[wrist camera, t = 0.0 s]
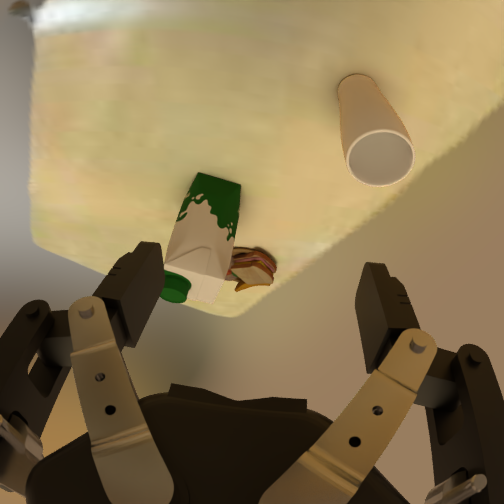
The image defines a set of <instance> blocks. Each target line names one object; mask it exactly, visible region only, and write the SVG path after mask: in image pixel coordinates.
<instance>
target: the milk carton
mask: <svg viewBox="0 0 504 504" xmlns="http://www.w3.org/2000/svg"><path fill="white" fill-rule="evenodd" d="M240 189H241V185H239V184H236V183H233V182H230V181H226V180H223V179H219V178H216V177H213V176H209V175H206V174H202V173H199V172H198V174H197V176H196V178H195V180H194V181H193V183H192V185H191V187H190V189H189V191H188V193H187V195H186V197H185V199H184V201H183V204H182V206H181V209H180V212H179V215H178V218H177V220H176V223H175V226H174V229H173V232H172V235H171V238H170V241H169V245H168V248H167V253H166V258H165V262H164V272H165V284H164V288H163V290H162V292H161V294H160V297H161V298H162V299H164V300H166V301H169V302H172V303H183V302H185V301H186V299H187V298H188V299H190V300H193V301H196V300H198V301H202V302H206V303H209V304H213V303H214V301H215V299H216V297H217V295H218V293H219V291H220V289H221V287H222V285H223V283H224V281H225V278H226V274H227V271H228V268H229V265H230V261H231V256H232V250H233V245H234V239H235V234H236V229H237V223H238V218H239V206H240Z"/></svg>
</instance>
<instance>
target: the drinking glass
mask: <svg viewBox="0 0 504 504" xmlns="http://www.w3.org/2000/svg"><path fill="white" fill-rule="evenodd" d="M337 94H338V100H339V109H340V131H341V142H342V149H343V153H344V158H345V161H346V166H347V169H348V171H349V173H350V174H351V175H352V176H353V177H354V178H355V179H356V180H357V181H359V182H360V183H362V184H365V185H368V186H372V187H385V186H390V185H393V184H395V183H397V182H399V181H401V180H402V179H404V178H405V177H406V176H407V175H408V174H409V173H410V171H411V170H412V168H413V166H414V163H415V150H414V147H413V144H412V141H411V139H410V136H409V134H408V132H407V130H406V128H405V126H404V124H403V122H402V121H401V119H400V117H399V116H398V115H397V113H396V112H395V110H394V109H393V108H392V106H391V105H390V104H389V102H388V101H387V99H386V98H385V97H384V95H383V94H382V93H381V91H380V90H379V88H378V87H377V85H376V83H375V82H374V81H373V80H372V79H370V78H369V77H367V76H364V75H359V74H356V75H351V76H348V77H346V78H345V79H344V80H343V81H342V82H341V83H340V85H339V87H338V91H337Z"/></svg>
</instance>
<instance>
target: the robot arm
mask: <svg viewBox="0 0 504 504" xmlns="http://www.w3.org/2000/svg"><path fill="white" fill-rule="evenodd" d="M164 284H165V272H164V265H163V257H162V250H161V245H160V243H155V242H144V241H141V242H140V243H139V244H138V246H137V247H136V248H135V250H134V251H133V252H132V253H130V252H128V253H127V254H125V255H124V256H122V257H121V258H119V259H118V260H117V262H116V263H115V264H114V266H113V269H111V270H110V271H109V273H108V275H106V277H105V278H104V279H103V281H102V282H101V284H100V285H99V286H98V288H97V289H96V291H95V292H94V293H93V295H92V296H87V297H83V298H81V299H78V300H76V301H75V302H74V303H73V304H72V305H71V306H70V307H69V310H60V311H51V309H50V307H49V304H48V303H47V302H46V301H44V300H33V301H31V302H28V303H27V304H25V305H24V306H23V307H22V308H21V309H20V310H19V312H18V313H17V314H16V316H15V317H14V319H13V321H12V322H11V323H10V324H9V326H8V327H7V329H6V330H5V332H4V333H3V335H2V336H1V338H0V488H2V489H4V490H5V491H8V492H16V493H18V494H19V495H22V496H23V497H25V498H26V503H27V504H410V503H409V502H408V501H407V500H406V499H405V498H404V497H403V496H402V495H401V494H400V493H399V492H398V491H397V490H396V489H395V488H394V486H393V485H392V484H391V483H390V482H389V481H388V480H387V479H386V478H385V477H384V476H383V475H382V474H381V473H380V471H379V470H378V469H377V468H376V467H375V466H374V465H375V463H376V462H377V460H378V459H379V458H380V456H381V455H382V453H383V452H384V450H385V449H386V447H387V446H388V444H389V442H390V441H391V439H392V438H393V436H394V435H395V433H396V431H397V430H398V428H399V426H400V425H401V423H402V421H403V420H404V418H405V416H406V414H407V413H408V411H409V409H410V407H411V406H412V404H413V403H414V404H418V405H422V406H425V409H426V415H427V422H428V429H429V435H430V443H431V451H432V460H433V470H434V481H435V487H434V488H433V489H431V491H430V492H429V493H428V495H427V497H426V499H425V504H504V400H503V397H502V393H501V390H500V387H499V385H498V381H497V379H496V376H495V373H494V370H493V368H492V365H491V362H490V359H489V357H488V355H487V354H486V352H485V351H483V349H481V348H480V347H478V346H476V345H473V344H465V345H463V346H461V347H460V349H459V350H458V352H457V353H454V352H451V351H447V350H444V349H441V348H438V347H437V344H436V342H435V340H434V338H433V337H432V336H431V335H430V334H428V333H427V332H425V331H423V330H421V329H420V326H419V323H418V321H417V318H416V315H415V313H414V310H413V307H412V305H411V304H410V303H411V302H410V300H409V297H407V296H408V295H407V292H406V290H405V287H404V285H403V284H402V283H401V282H400V281H399V280H398V279H397V278H396V277H390V275H389V272H388V270H387V267H386V266H385V264H383V263H371V262H366V263H365V265H364V268H363V271H362V275H361V279H360V282H359V286H358V289H357V293H356V297H355V310H356V314H357V320H358V325H359V330H360V336H361V341H362V347H363V353H364V359H365V364H366V371H367V373H368V374H371V375H370V377H369V378H368V379H367V381H366V382H365V383H364V385H363V386H362V387H361V389H360V390H359V391H358V393H357V394H356V395H355V396H354V398H353V399H352V400H351V401H350V403H349V404H348V405H347V406H346V408H345V409H344V410H343V411H342V413H341V414H340V415H339V416H338V417H337V419H336V420H335V421H334V422H333V421H332V420H330V419H328V418H327V417H325V416H323V415H321V414H320V413H318V412H315V411H312V410H309V409H307V399H292V398H278V397H269V398H261V399H253V400H243V401H236V400H232V399H229V398H226V397H224V396H221V395H219V394H216V393H213V392H211V391H208V390H206V389H202V388H196V387H190V386H184V385H178V384H171V387H170V390H169V392H166V393H158V394H154V395H149V396H146V397H144V398H141V399H139V397H138V395H137V393H136V390H135V388H134V385H133V383H132V380H131V377H130V375H129V372H128V369H127V367H126V364H125V361H124V358H123V356H122V353H121V351H122V349H123V347H124V346H127V347H132V348H135V346H136V344H137V342H138V340H139V338H140V336H141V333H142V331H143V329H144V327H145V325H146V323H147V321H148V319H149V317H150V315H151V313H152V310H153V308H154V306H155V304H156V302H157V300H158V298H159V296H160V294H161V292H162V290H163V288H164ZM35 353H37V354H38V358H37V360H36V362H35V363H34V365H33V367H32V369H31V371H30V373H29V374H28V366H29V364H30V362H31V360H32V359H33V357H34V355H35ZM71 367H72V368H73V373H74V378H75V382H76V387H77V391H78V395H79V399H80V404H81V408H82V412H83V415H84V419H85V423H86V426H87V430H88V432H86V433H85V434H83V435H82V436H80V437H78V438H77V439H75V440H73V441H72V442H70V443H68V444H67V445H65V446H63V447H62V448H60V449H58V450H57V451H55V452H54V453H51V454H50V455H48V456H46V457H45V458H44V456H43V454H42V452H43V446H42V442H41V440H40V437H41V435H42V432H43V430H44V427H45V425H46V422H47V420H48V418H49V415H50V413H51V411H52V408H53V406H54V404H55V401H56V399H57V397H58V394H59V393H60V390H61V388H62V386H63V384H64V382H65V380H66V377H67V375H68V373H69V371H70V369H71Z"/></svg>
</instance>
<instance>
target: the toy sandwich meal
mask: <svg viewBox="0 0 504 504" xmlns="http://www.w3.org/2000/svg"><path fill="white" fill-rule="evenodd" d="M276 269H277V267H276V265H275V263H274V262H273V261H272V260H271V259H270V258H269V257H268V256H266V255H265V254H263V253H261V252H259V251H254V250H251V249H245V248H234V249H233V250H232V256H231V261H230V265H229V268H228V271H227V274H226V278H225V280H227V281H232V280H233V281H236V282H239V283H238V284H237V286H236V288H235V291H236V292H238V291H240V290H243V289H246V288H249V287H252V286H258V285H267V286H270V284H272V283H273V280H274V277H273V273H275V272H276Z"/></svg>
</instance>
